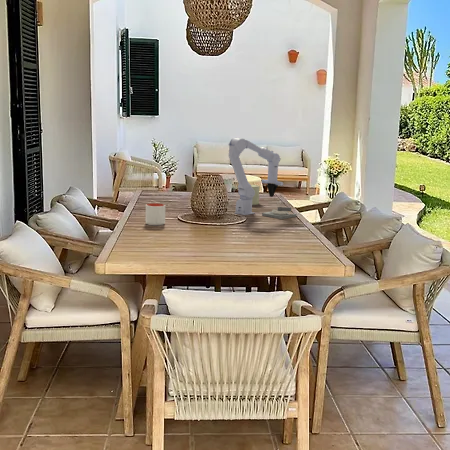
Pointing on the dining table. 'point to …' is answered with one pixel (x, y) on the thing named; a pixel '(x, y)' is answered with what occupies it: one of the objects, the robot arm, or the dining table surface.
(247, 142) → the robot arm
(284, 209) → the dial
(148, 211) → the cup
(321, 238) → the dining table surface
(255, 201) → the can
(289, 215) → the dial plate
